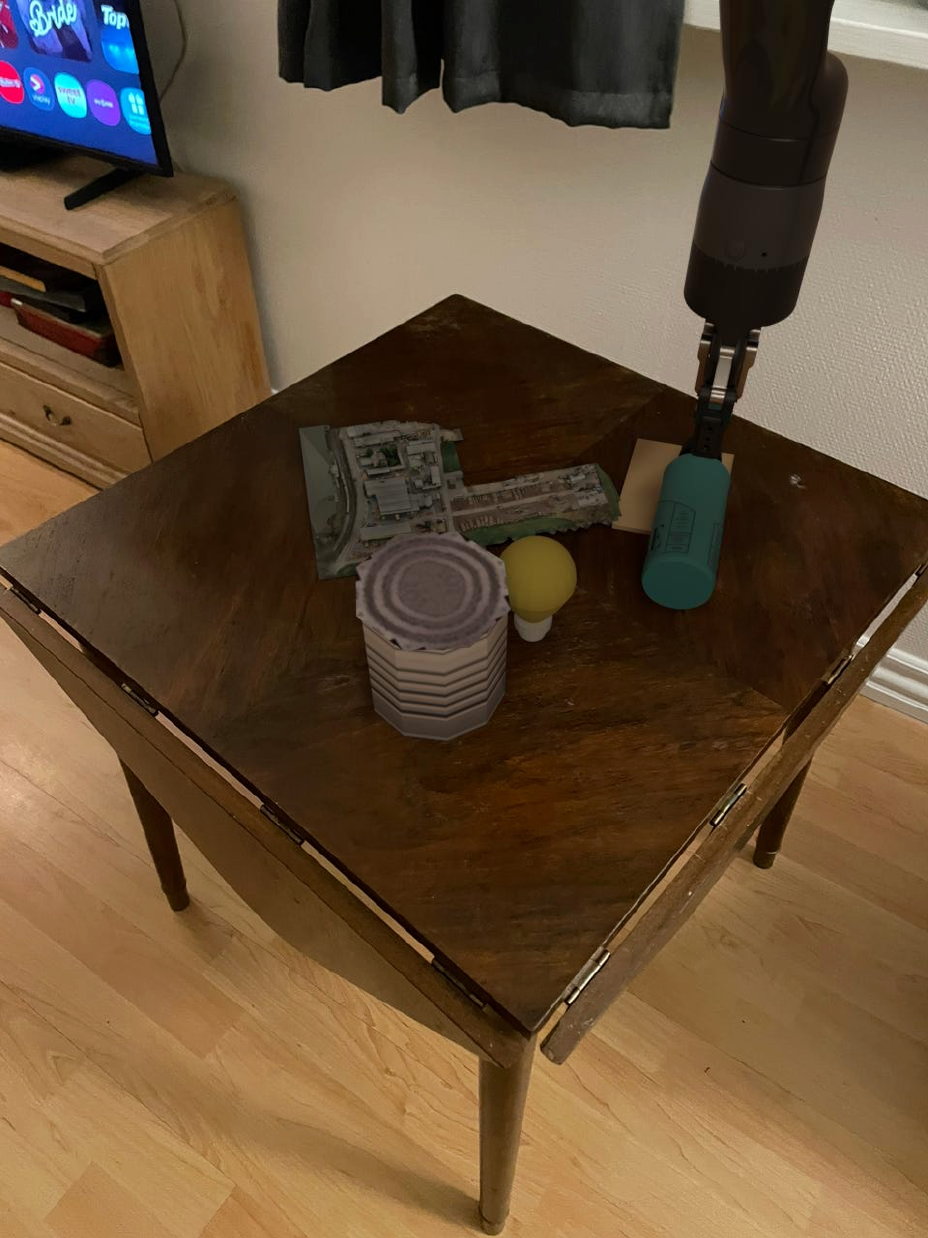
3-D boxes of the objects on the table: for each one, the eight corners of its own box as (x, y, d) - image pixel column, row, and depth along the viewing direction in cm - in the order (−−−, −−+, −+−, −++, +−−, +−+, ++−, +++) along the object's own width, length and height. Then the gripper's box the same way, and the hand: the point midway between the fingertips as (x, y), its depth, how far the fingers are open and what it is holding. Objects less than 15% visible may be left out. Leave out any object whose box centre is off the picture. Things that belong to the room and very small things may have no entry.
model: (635, 529, 88) (636, 516, 87) (319, 580, 85) (316, 567, 84) (574, 401, 102) (574, 389, 101) (301, 441, 99) (299, 428, 98)
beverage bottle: (730, 606, 77) (752, 454, 90) (676, 559, 75) (706, 409, 87) (670, 633, 82) (699, 485, 94) (618, 590, 80) (654, 444, 92)
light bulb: (515, 671, 77) (519, 587, 70) (480, 618, 82) (480, 533, 74) (585, 644, 79) (596, 560, 72) (547, 594, 83) (554, 509, 76)
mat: (733, 459, 96) (734, 454, 96) (716, 548, 87) (717, 543, 87) (636, 442, 98) (637, 437, 98) (611, 528, 89) (611, 523, 89)
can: (493, 626, 81) (494, 522, 72) (519, 731, 73) (524, 630, 64) (362, 643, 80) (347, 539, 71) (374, 751, 72) (360, 651, 63)
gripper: (806, 293, 55) (745, 514, 68) (818, 199, 64) (761, 412, 76) (679, 276, 57) (642, 496, 69) (707, 187, 65) (669, 397, 78)
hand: (704, 451), depth 73 cm, fingers closed
